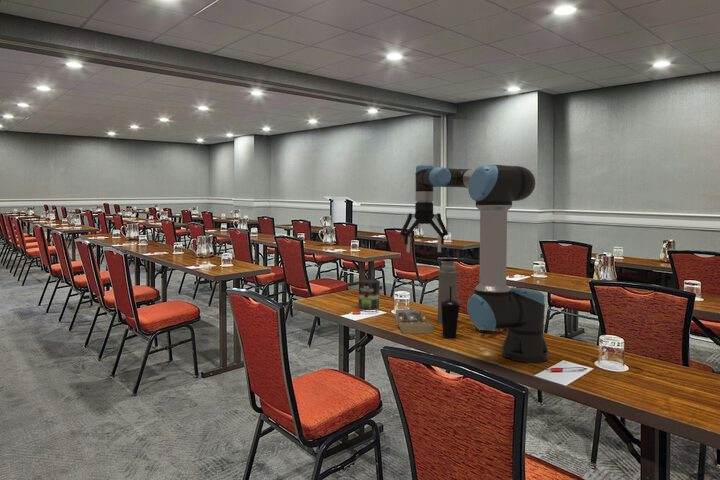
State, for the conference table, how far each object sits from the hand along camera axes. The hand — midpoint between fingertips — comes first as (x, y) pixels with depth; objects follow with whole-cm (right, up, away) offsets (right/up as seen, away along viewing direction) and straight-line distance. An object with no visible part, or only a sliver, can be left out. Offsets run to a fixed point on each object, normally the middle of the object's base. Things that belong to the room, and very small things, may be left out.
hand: (423, 252), depth 209 cm
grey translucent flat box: (-4, -32, -6) cm, 32 cm away
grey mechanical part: (-6, -31, +4) cm, 32 cm away
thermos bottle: (+11, -31, +8) cm, 34 cm away
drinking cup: (+8, -33, -17) cm, 38 cm away
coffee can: (-23, -29, +31) cm, 48 cm away
